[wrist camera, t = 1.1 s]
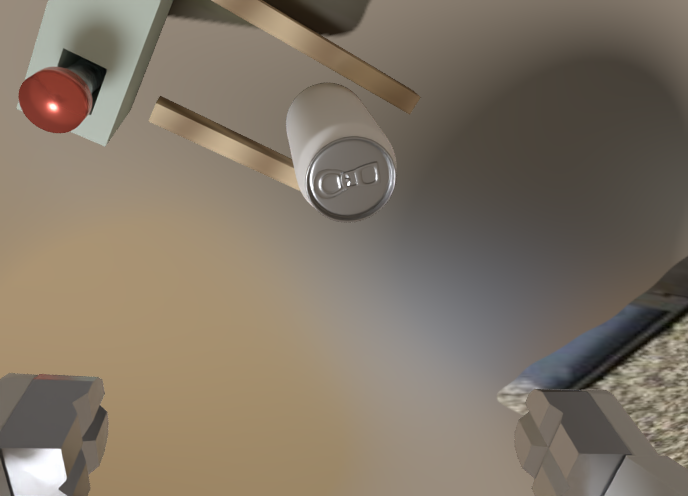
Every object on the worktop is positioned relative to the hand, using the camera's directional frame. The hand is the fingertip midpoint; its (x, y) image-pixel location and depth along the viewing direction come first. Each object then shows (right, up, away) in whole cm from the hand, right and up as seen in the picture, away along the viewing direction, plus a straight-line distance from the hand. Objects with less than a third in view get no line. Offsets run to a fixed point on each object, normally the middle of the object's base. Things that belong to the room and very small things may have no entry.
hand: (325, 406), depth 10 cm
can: (-1, +13, +32) cm, 34 cm away
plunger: (-15, +14, +22) cm, 30 cm away
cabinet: (-15, +19, +25) cm, 35 cm away
